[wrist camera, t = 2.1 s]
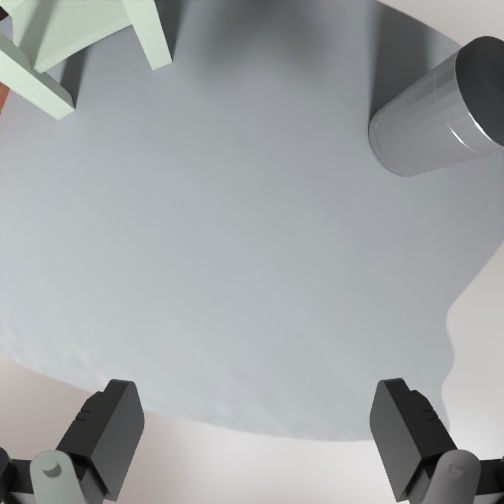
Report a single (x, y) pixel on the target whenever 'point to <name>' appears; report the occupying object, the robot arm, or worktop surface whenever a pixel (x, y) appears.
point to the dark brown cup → (3, 13)
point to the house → (3, 94)
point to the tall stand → (69, 42)
